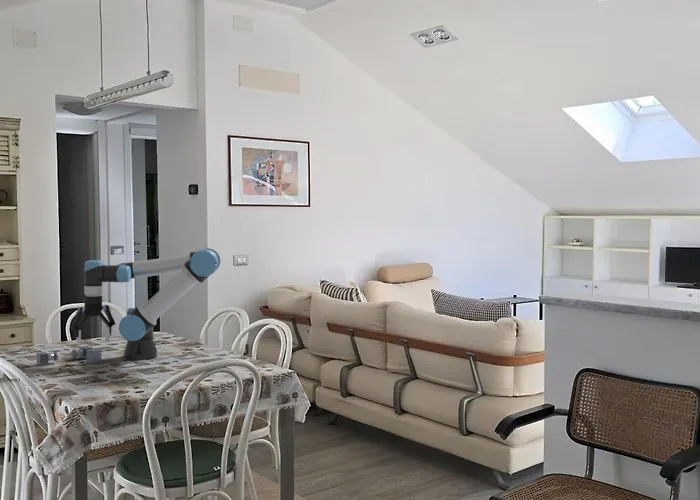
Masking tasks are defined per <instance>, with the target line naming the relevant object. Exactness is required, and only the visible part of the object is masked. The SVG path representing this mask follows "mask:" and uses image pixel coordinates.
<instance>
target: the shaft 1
mask: <svg viewBox="0 0 700 500" xmlns="http://www.w3.org/2000/svg"><path fill="white" fill-rule="evenodd" d="M35 355H36V365H37V366H39V367H44V366H49V361H56V362H57V361H58V360H59V354H58V352H57V351H54V352H53V353H52V352H51V353H47V352H46V351H41V352H36V354H35Z"/></svg>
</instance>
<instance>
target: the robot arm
mask: <svg viewBox="0 0 700 500" xmlns="http://www.w3.org/2000/svg"><path fill="white" fill-rule="evenodd" d="M220 264H221V258H220V255H219V253H218V252H217V250H215V249H212V248H210V247H209V248H208V247H207V248H201V249H199V250H197V251H191V252H189V253H187V254H185V255H184V254H183V255H177V256H169V257H161V258H154V259H147V260H139V261H131V262H121V263H119V264H116V265H115V264H113V265H109V264H108V265H106V264H104V263H103V260H99V259H98V260H95V259H94V260H91V259H90V260H86V261H85V262H84V271H83V272H84V278H83V279H84V286H83V287H84V292H83V293H84V295H85V296H84V300H83V301H84V302H83V303H84V307H81V306H77V308H76V309H77V310H76V314H75V315H74V317H73V319H72V322H71V324H70V326H69V328H70V329H72V330H74V334H73V335H74V338H76V339H75V345H77V346H82V330H81V328H82V326H83V325H84V324H85V322H86V321H87V320H88V318H90V317H99V318H100V319H101V321H103V323H104V324H105V325H106V326H105V327H104V341H105V342H109V343H110V341H111V338H110V335H111V334H112V327H113V326H115V325H116V322H115V319H114V317H113V314H112V313H111V311H110V306H109V305H108V304H104V305H103V283H120V284H121V283H129V282H130V281H131V279H139V278H146V277H153V276H162V275H169V274H171V275H172V274H176V275H175V276H174V277H173V278H172V279H171V280H170V281H168V282H167V283H166V284H165V285H164V286H163V287H162V288H161V289H160V290H158V292H157V291H156V293H155V294H154V295H153V296H152V297H150V299H148V301H146V302H145V303H144V304H141V305H140V304H139V305H137V306H136V307H128V308H127V311H126V315H125V316H124V317H122V318H121V320H120V321H119V324H118V331H119V335H120V336H121V337H122V338H123V340H126V343H125V347H124V351H123V359H125V360H130V361H131V360H132V361H142V360H143V361H144V360H152V359H154V358H157V357H158V349H157V347H156V343H155V341H154V327H155V326H156V325H157V320H158V319H159V318H160V317H161V316H162V315H163V314H164V313H166V311H168V310H169V309H170V308H171V307H172V306H173V305H174V304H176V302H178V300H180V299H181V298H183V296H184V295H185V294H187V293H188V291H189V290H191V288H193V287H194V286H195V285H196V284H203V282H205V281H206V280H207V279H208V278H210V276H211V275H214V273H215V272H216V271H217V270H218V269H219V268H220ZM102 311H104V313H105V314H104V313H103V312H102Z"/></svg>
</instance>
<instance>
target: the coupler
mask: <svg viewBox="0 0 700 500" xmlns="http://www.w3.org/2000/svg"><path fill="white" fill-rule="evenodd" d="M86 364H90V365H99V364H102V349H100V348H93V347H92V349H87V359H86Z"/></svg>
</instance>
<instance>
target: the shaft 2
mask: <svg viewBox="0 0 700 500" xmlns="http://www.w3.org/2000/svg"><path fill="white" fill-rule="evenodd" d="M87 349H93V347H91V346H80V347H78V349H72V350H71V357H72V358H73V359H76V358H79V359H82V360H87Z"/></svg>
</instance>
